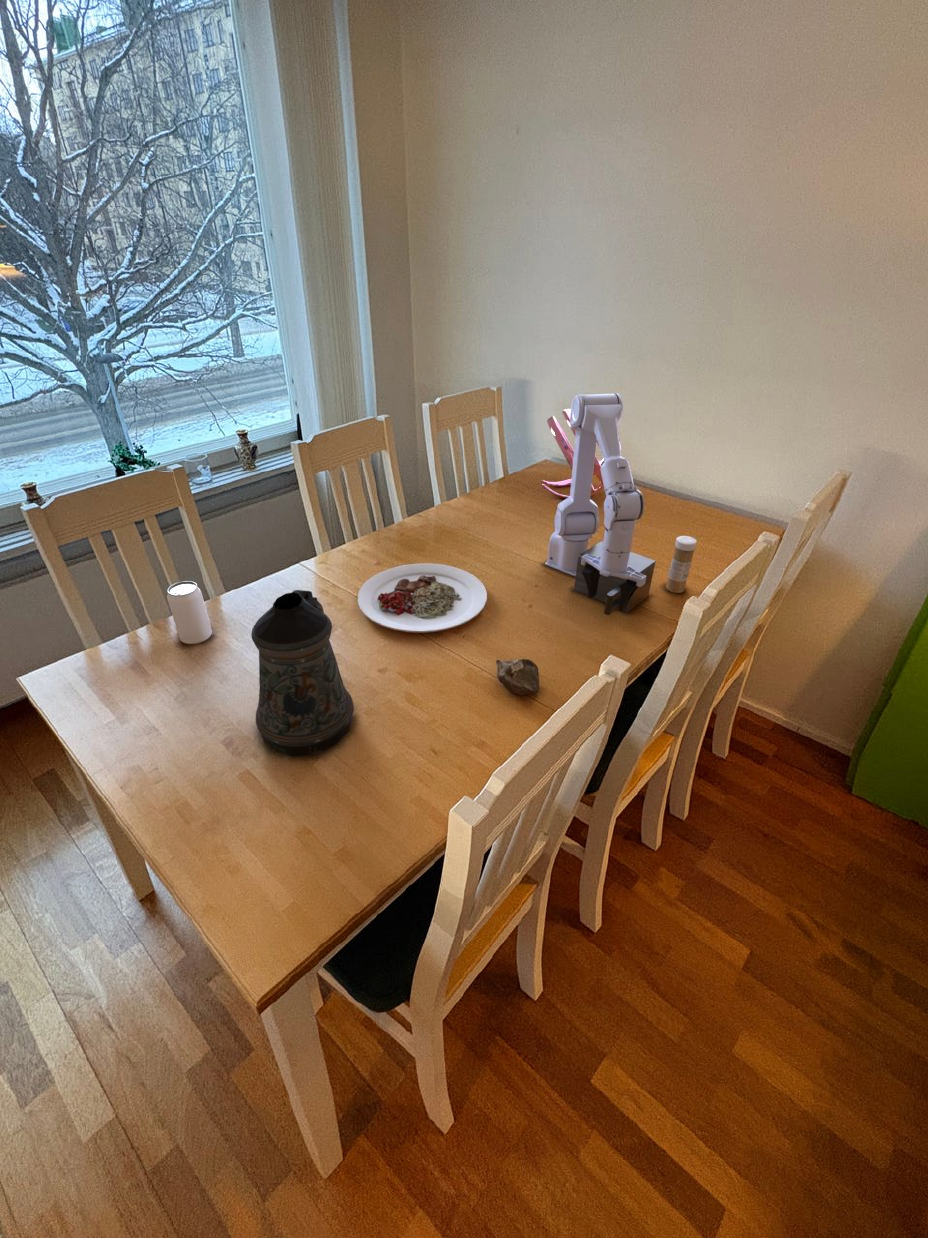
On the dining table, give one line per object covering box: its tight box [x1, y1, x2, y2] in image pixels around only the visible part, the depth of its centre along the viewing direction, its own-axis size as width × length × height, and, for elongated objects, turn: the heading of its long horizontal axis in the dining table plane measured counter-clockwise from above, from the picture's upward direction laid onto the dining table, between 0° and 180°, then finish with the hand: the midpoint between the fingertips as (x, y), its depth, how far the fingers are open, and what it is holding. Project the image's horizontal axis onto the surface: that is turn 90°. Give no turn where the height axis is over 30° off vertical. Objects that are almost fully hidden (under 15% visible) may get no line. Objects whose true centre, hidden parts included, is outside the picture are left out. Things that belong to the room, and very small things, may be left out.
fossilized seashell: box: [495, 657, 540, 695], centre depth 113 cm, size 8×7×10 cm
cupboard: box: [581, 541, 657, 612], centre depth 141 cm, size 9×15×10 cm, turn 48°
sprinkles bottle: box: [665, 535, 698, 594], centre depth 141 cm, size 5×5×14 cm
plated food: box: [357, 562, 488, 633], centre depth 138 cm, size 30×30×3 cm
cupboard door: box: [573, 555, 632, 616], centre depth 136 cm, size 8×15×9 cm, turn 48°
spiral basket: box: [540, 408, 622, 500], centre depth 189 cm, size 28×28×27 cm
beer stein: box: [251, 589, 355, 757], centre depth 99 cm, size 16×19×25 cm
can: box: [166, 580, 213, 645], centre depth 123 cm, size 6×6×12 cm
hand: (607, 602), depth 131 cm, fingers open, 7 cm apart
